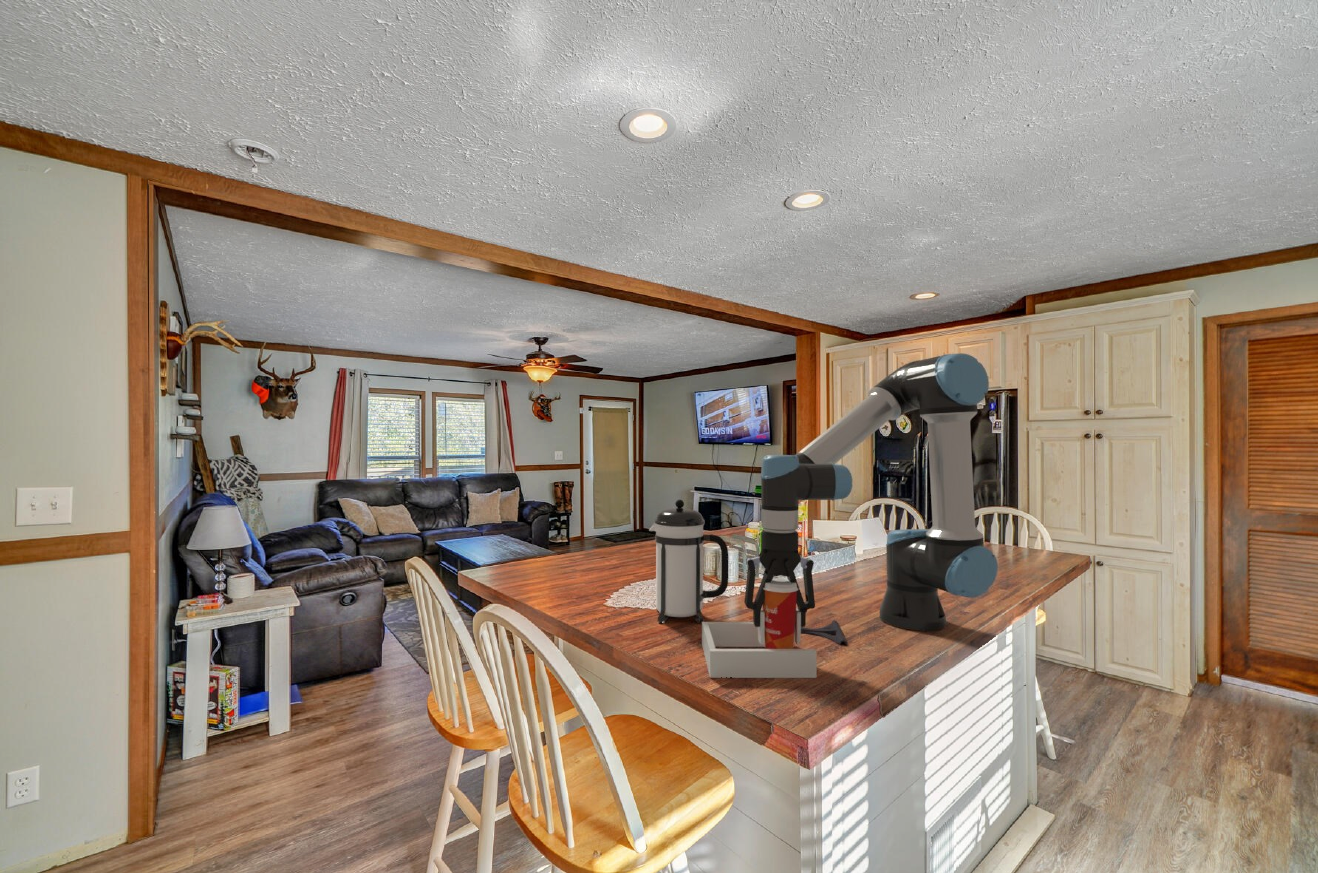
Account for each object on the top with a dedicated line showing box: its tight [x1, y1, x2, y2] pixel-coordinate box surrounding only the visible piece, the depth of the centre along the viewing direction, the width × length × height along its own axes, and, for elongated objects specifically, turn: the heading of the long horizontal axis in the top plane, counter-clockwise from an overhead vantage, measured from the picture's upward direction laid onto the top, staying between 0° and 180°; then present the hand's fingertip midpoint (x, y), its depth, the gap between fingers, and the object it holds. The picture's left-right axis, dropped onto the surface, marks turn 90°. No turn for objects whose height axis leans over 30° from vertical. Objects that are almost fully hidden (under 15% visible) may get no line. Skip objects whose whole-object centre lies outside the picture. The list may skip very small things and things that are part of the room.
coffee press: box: [648, 499, 729, 624], centre depth 143 cm, size 17×16×30 cm
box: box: [701, 621, 817, 679], centre depth 114 cm, size 20×17×5 cm
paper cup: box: [762, 577, 800, 649], centre depth 114 cm, size 8×8×14 cm
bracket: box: [801, 619, 848, 646], centre depth 131 cm, size 14×15×3 cm
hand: (779, 642), depth 114 cm, fingers closed on paper cup, 7 cm apart
